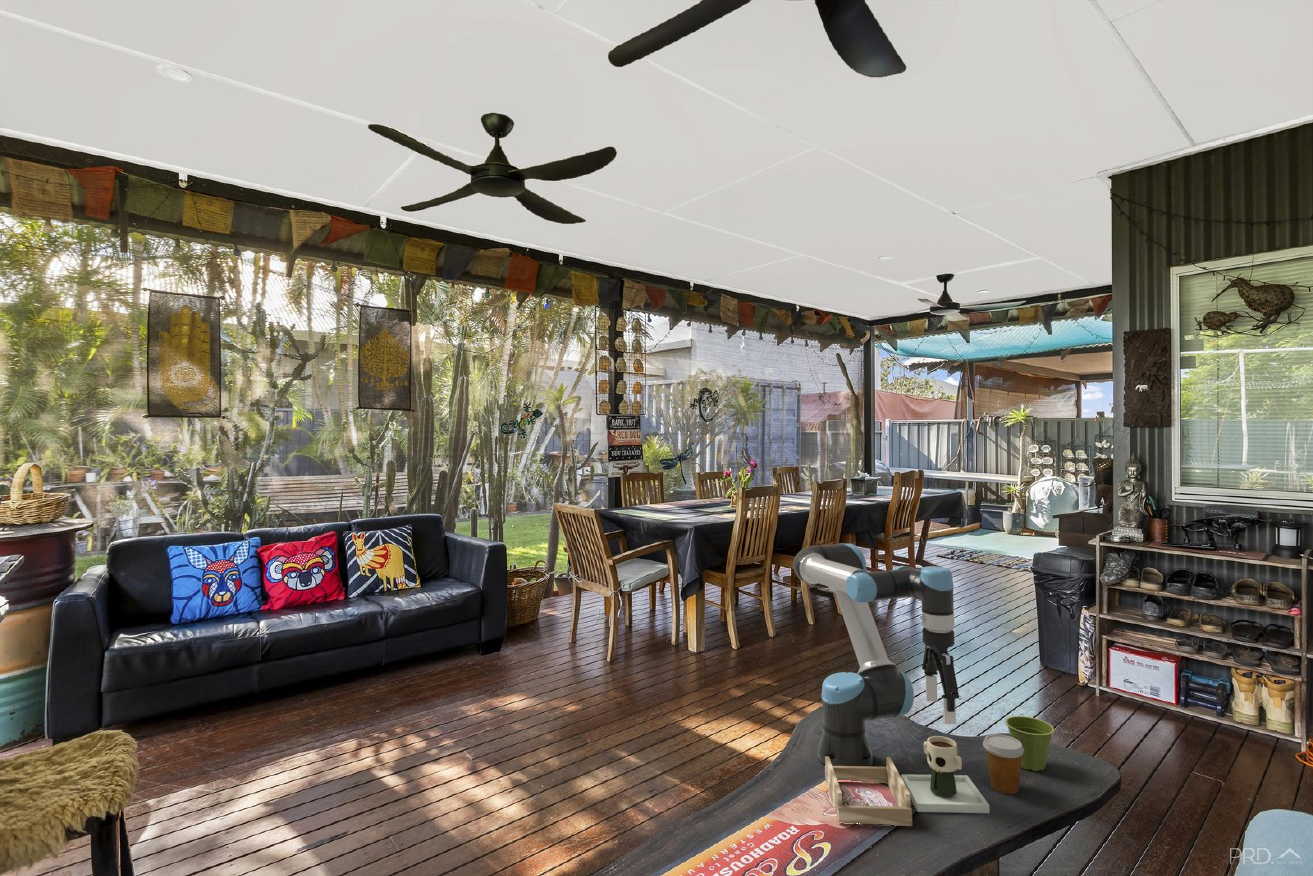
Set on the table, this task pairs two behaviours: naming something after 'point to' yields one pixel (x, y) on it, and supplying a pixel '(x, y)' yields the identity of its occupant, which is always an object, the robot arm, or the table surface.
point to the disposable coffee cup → (1003, 762)
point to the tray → (961, 802)
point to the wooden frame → (870, 814)
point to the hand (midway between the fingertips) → (940, 711)
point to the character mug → (942, 764)
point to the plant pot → (1031, 740)
